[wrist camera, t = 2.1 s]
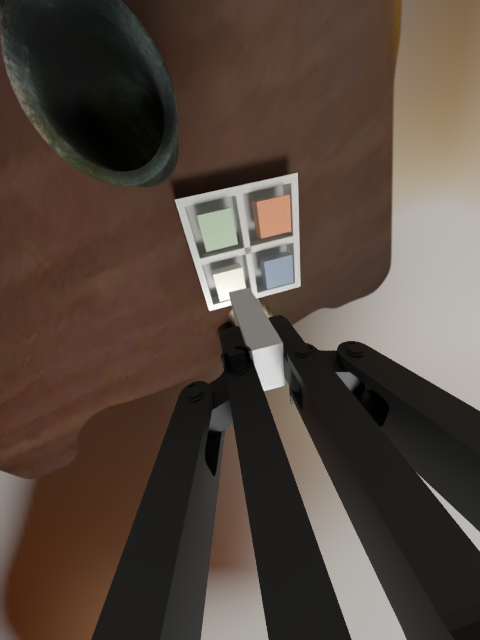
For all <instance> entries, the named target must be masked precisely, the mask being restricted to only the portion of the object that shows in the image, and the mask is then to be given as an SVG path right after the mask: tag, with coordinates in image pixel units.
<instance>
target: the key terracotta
mask: <svg viewBox="0 0 480 640" xmlns="http://www.w3.org/2000/svg"><path fill="white" fill-rule="evenodd" d="M252 208H253V215H254V223H255V230H256V236H257V237H259V238H261V239H262V238H266V237H270V236H274V235H278V234H282V233H286V232H291V212H290V195H280V196H276V197H271V198H267V199H262V200H258V201H254V202H252Z"/></svg>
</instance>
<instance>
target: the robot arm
mask: <svg viewBox="0 0 480 640" xmlns="http://www.w3.org/2000/svg"><path fill="white" fill-rule="evenodd" d="M229 296H230V300H231V305H232V309H233V314H234V318H235V323H236V327H232V328H227V329H223V330H222V332H221V334H220V339H221V345H222V351H223V352H222V354H221V361H222V364H223V368H224V372H223V373H222V375H221V376H220V377H219V378H217V379H216V380H214V381H213V382H211V383H209V384H208V383H206V382H204V381H197V382H193V383H191V384H189V385H187V386H186V387H185V388H184V389H183V390H182V391H181V393H180V395H179V398H178V400H177V403H176V406H175V409H174V412H173V414H172V417H171V420H170V422H169V425H168V428H167V431H166V434H165V436H164V439H163V442H162V445H161V448H160V451H159V453H158V456H157V459H156V461H155V464H154V467H153V470H152V473H151V475H150V478H149V481H148V484H147V487H146V490H145V492H144V495H143V497H142V500H141V503H140V506H139V509H138V511H137V514H136V517H135V520H134V523H133V525H132V528H131V531H130V534H129V536H128V540H127V542H126V545H125V548H124V550H123V553H122V556H121V559H120V561H119V564H118V567H117V570H116V573H115V575H114V578H113V581H112V584H111V586H110V590H109V592H108V595H107V598H106V600H105V603H104V606H103V609H102V611H101V614H100V617H99V620H98V623H97V626H96V628H95V631H94V634H93V637H92V639H91V640H200V639H201V630H202V622H203V613H204V605H205V596H206V588H207V579H208V570H209V562H210V553H211V545H212V536H213V527H214V520H215V519H214V518H215V511H216V502H217V494H218V485H219V477H220V468H221V460H222V450H223V443H224V434H225V428H227V427H228V426H230V425H231V424H234V430H235V437H236V443H237V449H238V455H239V461H240V467H241V474H242V480H243V486H244V492H245V497H246V504H247V510H248V516H249V522H250V528H251V534H252V541H253V547H254V552H255V559H256V565H257V571H258V577H259V583H260V589H261V595H262V601H263V608H264V613H265V619H266V626H267V632H268V638H269V640H351V637H350V634H349V631H348V628H347V626H346V623H345V620H344V617H343V615H342V612H341V609H340V606H339V603H338V600H337V597H336V595H335V592H334V589H333V586H332V583H331V580H330V577H329V575H328V572H327V569H326V566H325V564H324V560H323V558H322V555H321V552H320V549H319V546H318V543H317V541H316V538H315V535H314V532H313V530H312V526H311V524H310V521H309V518H308V515H307V512H306V510H305V507H304V504H303V501H302V498H301V495H300V493H299V490H298V487H297V484H296V481H295V478H294V475H293V473H292V470H291V467H290V464H289V461H288V458H287V456H286V453H285V450H284V447H283V444H282V442H281V439H280V436H279V433H278V430H277V428H276V424H275V422H274V419H273V416H272V413H271V410H270V408H269V405H268V402H267V399H266V396H265V393H264V391H266V390H270V389H274V388H277V387H281V386H285V385H286V380H287V382H288V383H289V391H290V401H291V404H293V401H294V403H295V405H296V407H297V409H298V411H299V413H300V415H301V417H302V420H303V422H304V424H305V426H306V428H307V430H308V432H309V434H310V436H311V438H312V441H313V443H314V445H315V447H316V449H317V451H318V453H319V455H320V457H321V459H322V462H323V464H324V466H325V468H326V470H327V472H328V474H329V476H330V478H331V480H332V482H333V485H334V487H335V489H336V491H337V493H338V495H339V497H340V499H341V501H342V503H343V506H344V508H345V510H346V511H347V514H348V516H349V518H350V520H351V522H352V524H353V526H354V529H355V531H356V533H357V535H358V537H359V539H360V541H361V543H362V545H363V547H364V549H365V552H366V554H367V556H368V557H369V560H370V562H371V564H372V566H373V568H374V570H375V572H376V575H377V577H378V579H379V581H380V583H381V585H382V587H383V589H384V591H385V593H386V596H387V598H388V600H389V602H390V604H391V606H392V608H393V610H394V612H395V614H396V616H397V618H398V621H399V623H400V625H401V627H402V629H403V631H404V634H405V636H406V639H407V640H480V551H479V550H478V549H477V548H476V546H475V545H474V544H473V543H472V541H471V540H470V539H469V538H468V536H467V535H466V534H465V533H464V532H463V530H462V529H461V528H460V526H459V525H458V524H457V523H456V521H455V520H454V519H453V518H452V517H451V515H450V514H449V513H448V512H447V510H446V509H445V508H444V507H443V505H442V504H441V503H440V502H439V500H438V499H437V498H436V497H435V495H434V494H433V493H432V492H431V490H430V489H429V488H428V487H427V485H426V484H425V483H424V482H423V480H422V479H421V478H420V477H419V475H420V476H421V477H422V478H423V479H424V480H425V481H426V482H427V483H428V484H429V485H430V486H432V487H433V488H434V489H435V490H436V491H437V492H438V493H439V494H440V495H441V496H442V497H443V498H444V499H445V500H447V501H448V502H449V503H450V504H451V505H452V506H453V507H454V508H455V509H456V510H457V511H458V512H459V513H460V514H461V515H462V516H464V517H465V518H466V519H467V520H468V521H469V522H470V523H471V524H472V525H473V526H474V527H475V528H476V529H477V530H478V531H480V411H479V410H477V409H475V408H473V407H472V406H470V405H468V404H466V403H465V402H463V401H461V400H460V399H458V398H456V397H455V396H453V395H451V394H449V393H448V392H446V391H444V390H442V389H441V388H439V387H437V386H436V385H434V384H432V383H431V382H429V381H427V380H425V379H424V378H422V377H420V376H418V375H417V374H415V373H413V372H412V371H410V370H408V369H406V368H405V367H403V366H401V365H400V364H398V363H396V362H394V361H392V360H391V359H389V358H388V357H386V356H384V355H382V354H381V353H379V352H377V351H376V350H374V349H372V348H370V347H369V346H367V345H365V344H363V343H360V342H355V341H347V342H343V343H341V344H340V345H339V346H338V348H337V351H320V350H317V349H316V348H315V347H314V346H313V345H310V344H308V343H305V342H304V341H303V340H302V338H301V337H300V336H299V334H298V333H297V332H296V330H295V329H294V328H293V326H292V325H291V324H290V322H289V321H288V320H287V318H285V317H283V316H281V315H278V316H274V317H270V318H268V317H267V316H266V314H265V312H264V311H263V309H262V307H261V306H260V304H259V302H258V301H257V299H256V297H255V296H254V294H253V292H252V291H251V289H250V288H245V289H241V290H237V291H232V292H229ZM416 472H417V473H418V474H419V475H418V474H417V473H416Z"/></svg>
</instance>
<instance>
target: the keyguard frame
mask: <svg viewBox="0 0 480 640" xmlns="http://www.w3.org/2000/svg"><path fill="white" fill-rule="evenodd" d="M280 195H290V212H291V232H286V233H282V234H278V235H274V236H270V237H266V238H262V239H261V238H259V237H257V236H256V230H255V223H254V215H253V208H252V202H254V201H258V200H262V199H267V198H271V197H276V196H280ZM175 202H176V206H177V209H178V212H179V215H180V219H181V222H182V225H183V228H184V231H185V235H186V238H187V241H188V244H189V248H190V251H191V254H192V257H193V260H194V264H195V267H196V270H197V273H198V277H199V280H200V283H201V286H202V289H203V293H204V296H205V299H206V302H207V306H208V309H209V311H212V310H215V309H219V308H223V307H226V306H230V305H231V300H230V299H229V300H225V301H222V302H220V300H219V297H218V293H217V290H216V286H215V282H214V279H213V275H212V271H211V270H213V269H217V268H221V267H225V266H229V265H233V264H237V263H239V264H240V265H241V266H242V268H243V273H244V279H245V284H246V288H250V289H251V291H252V292H253V294H254V296H255V297H256V298H260V297H264V296H268V295H271V294H275V293H279V292H282V291H286V290H290V289H294V288H297V287H300V246H299V205H298V173H294V174H290V175H285V176H281V177H276V178H272V179H267V180H262V181H258V182H253V183H249V184H244V185H240V186H235V187H230V188H226V189H221V190H217V191H212V192H208V193H203V194H198V195H194V196H189V197H185V198H180V199H176V200H175ZM227 207H230V208H232V213H233V218H234V224H235V229H236V235H237V240H238V244H237V245H233V246H229V247H225V248H221V249H217V250H212V251H208V252H206V249H205V245H204V241H203V238H202V234H201V230H200V227H199V223H198V219H197V215H196V214H201V213H205V212H210V211H214V210H218V209H223V208H227ZM285 251H286V252H288V253H290V254H292V258H293V281H294V282H293V283H290V284H286V285H282V286H278V287H274V288H271V289H266V287H265V286H264V285H263V283H262V276H261V268H260V261H259V258H261V257H265V256H269V255H273V254H277V253H281V252H285Z"/></svg>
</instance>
